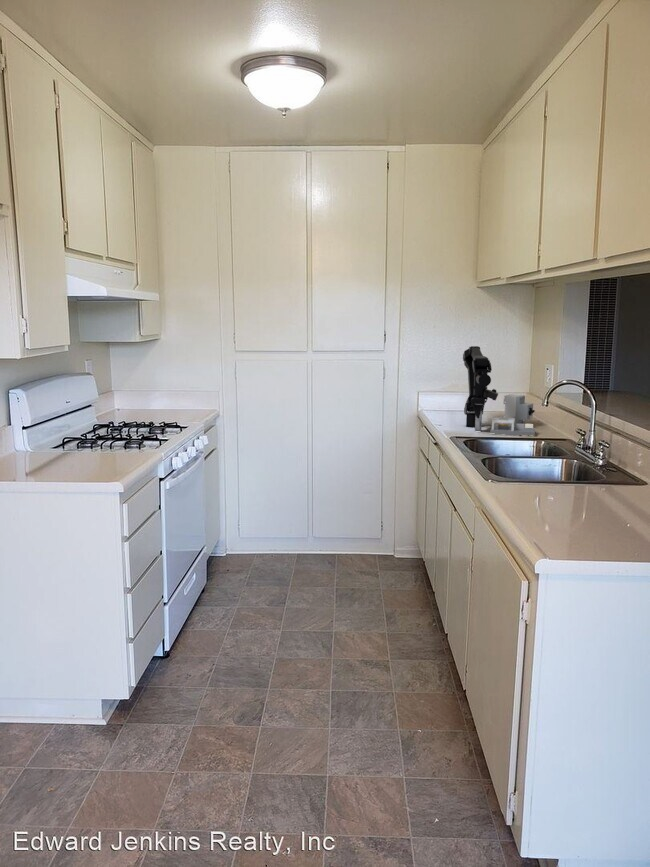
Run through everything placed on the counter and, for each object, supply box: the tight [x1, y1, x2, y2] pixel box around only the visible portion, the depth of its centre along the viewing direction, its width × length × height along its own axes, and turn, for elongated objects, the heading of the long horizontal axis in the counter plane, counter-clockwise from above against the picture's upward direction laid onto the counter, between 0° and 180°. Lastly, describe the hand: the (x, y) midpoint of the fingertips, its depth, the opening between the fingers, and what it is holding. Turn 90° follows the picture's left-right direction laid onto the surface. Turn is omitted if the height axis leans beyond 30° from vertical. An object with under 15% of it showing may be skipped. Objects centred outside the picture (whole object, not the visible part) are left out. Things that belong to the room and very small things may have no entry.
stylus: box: [474, 411, 483, 432], centre depth 313 cm, size 3×3×10 cm
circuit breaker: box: [502, 393, 536, 427], centre depth 328 cm, size 8×14×15 cm, turn 53°
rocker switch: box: [524, 423, 534, 428], centre depth 307 cm, size 4×4×1 cm
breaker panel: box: [489, 416, 536, 437], centre depth 309 cm, size 20×12×6 cm, turn 72°
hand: (478, 416), depth 312 cm, fingers open, 9 cm apart
